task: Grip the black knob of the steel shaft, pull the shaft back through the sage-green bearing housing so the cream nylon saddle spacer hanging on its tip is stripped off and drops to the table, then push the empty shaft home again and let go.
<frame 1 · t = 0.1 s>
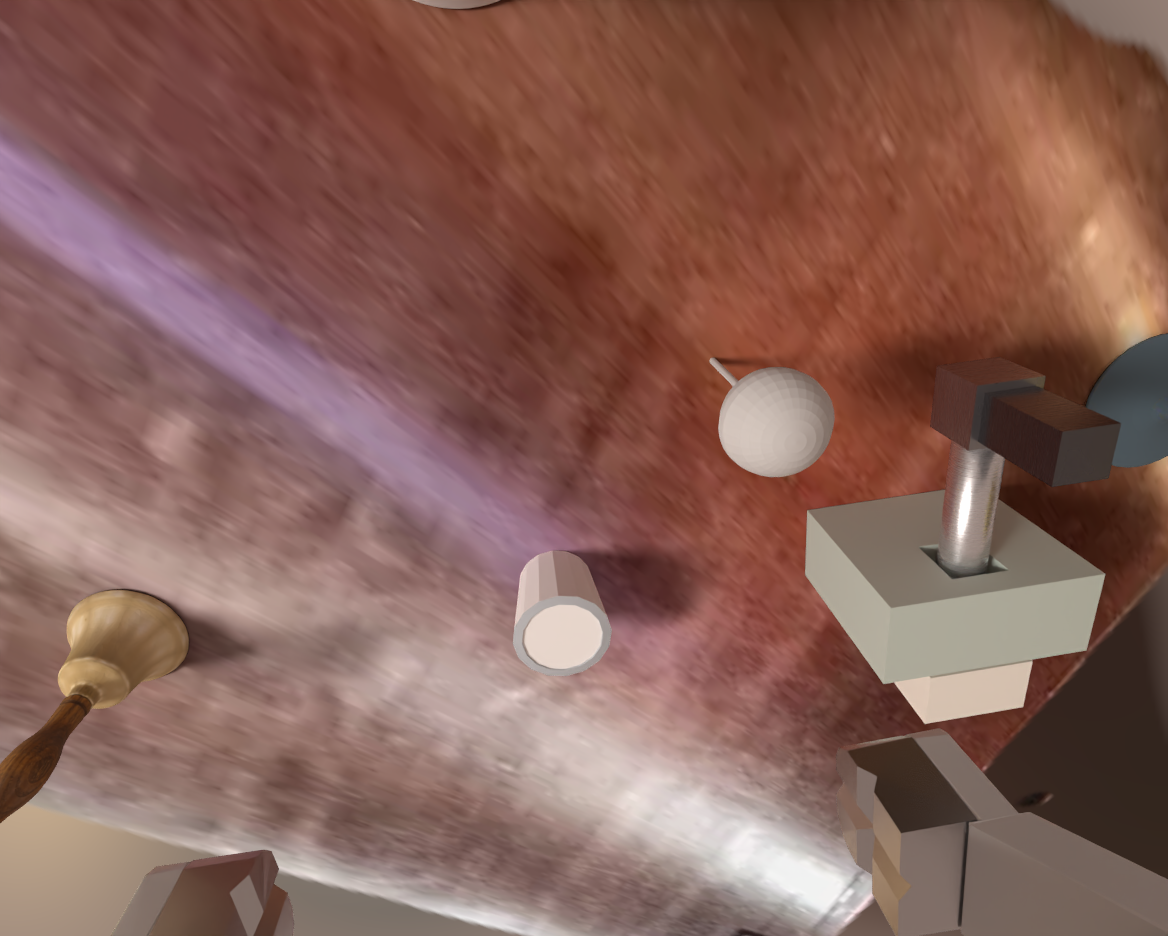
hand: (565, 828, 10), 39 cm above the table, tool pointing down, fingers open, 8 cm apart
cocktail glass: (1147, 401, 54), on the table
hand bell: (131, 633, 52), on the table
lollipop: (712, 360, 48), on the table
shot glass: (555, 580, 55), on the table
spacer: (943, 654, 50), point 8 cm above the table, touching shaft
shaft: (991, 576, 43), point 12 cm above the table, slide at 0.0 cm, touching spacer
bearing: (890, 530, 56), on the table
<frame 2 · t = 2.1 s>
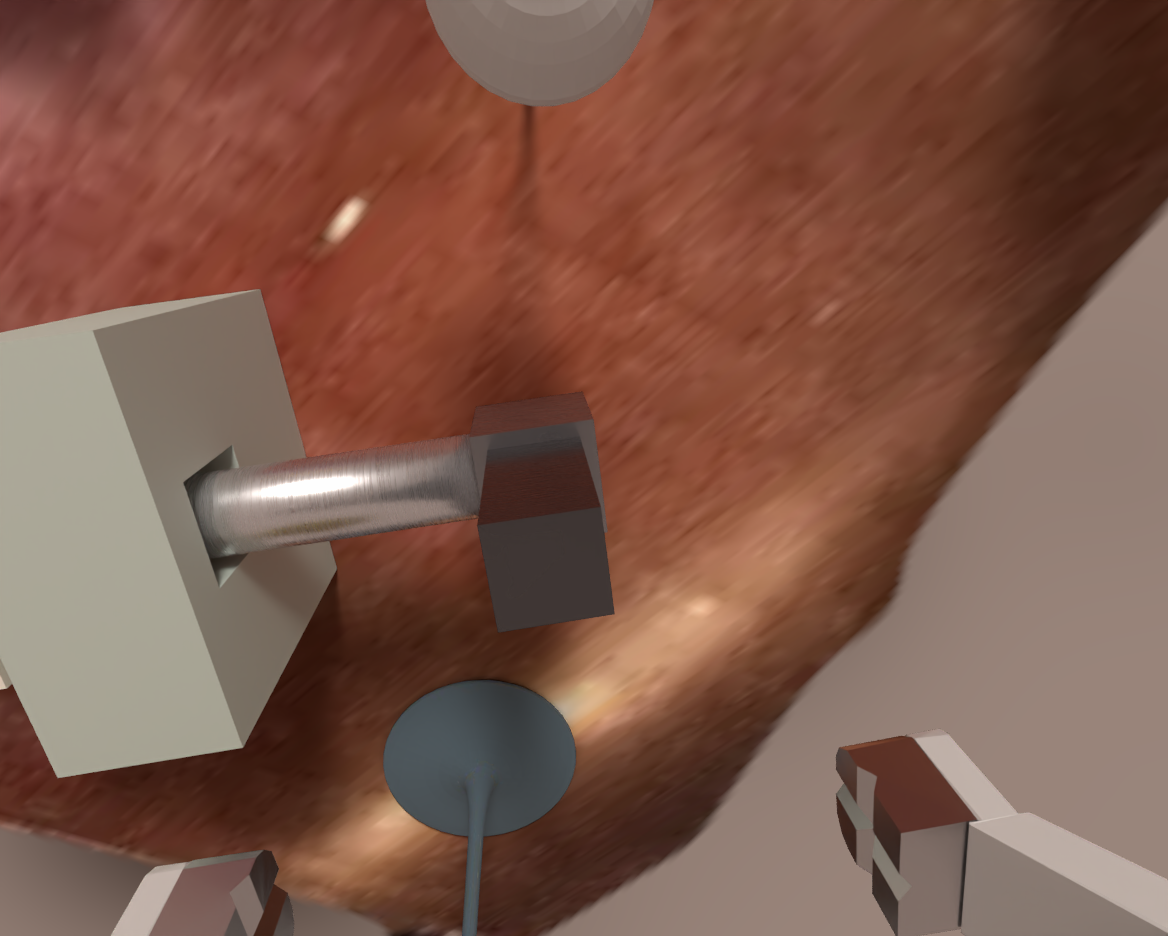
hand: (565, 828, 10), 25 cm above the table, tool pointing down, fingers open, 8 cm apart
cocktail glass: (481, 756, 40), on the table
lollipop: (530, 70, 29), on the table
shaft: (204, 548, 22), point 12 cm above the table, slide at 0.0 cm, touching spacer
bearing: (236, 448, 33), on the table
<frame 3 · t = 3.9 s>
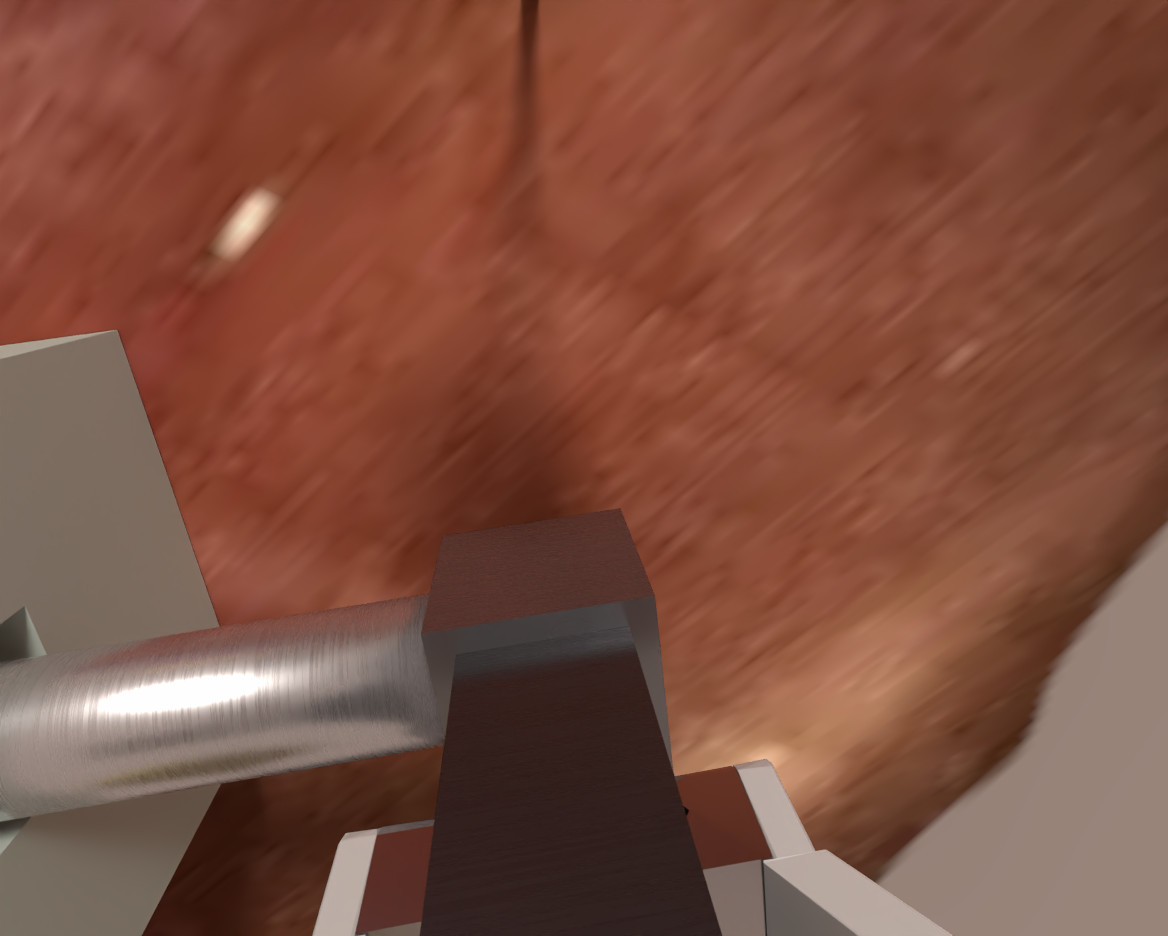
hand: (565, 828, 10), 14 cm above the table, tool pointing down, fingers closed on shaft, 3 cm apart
bearing: (95, 561, 22), on the table
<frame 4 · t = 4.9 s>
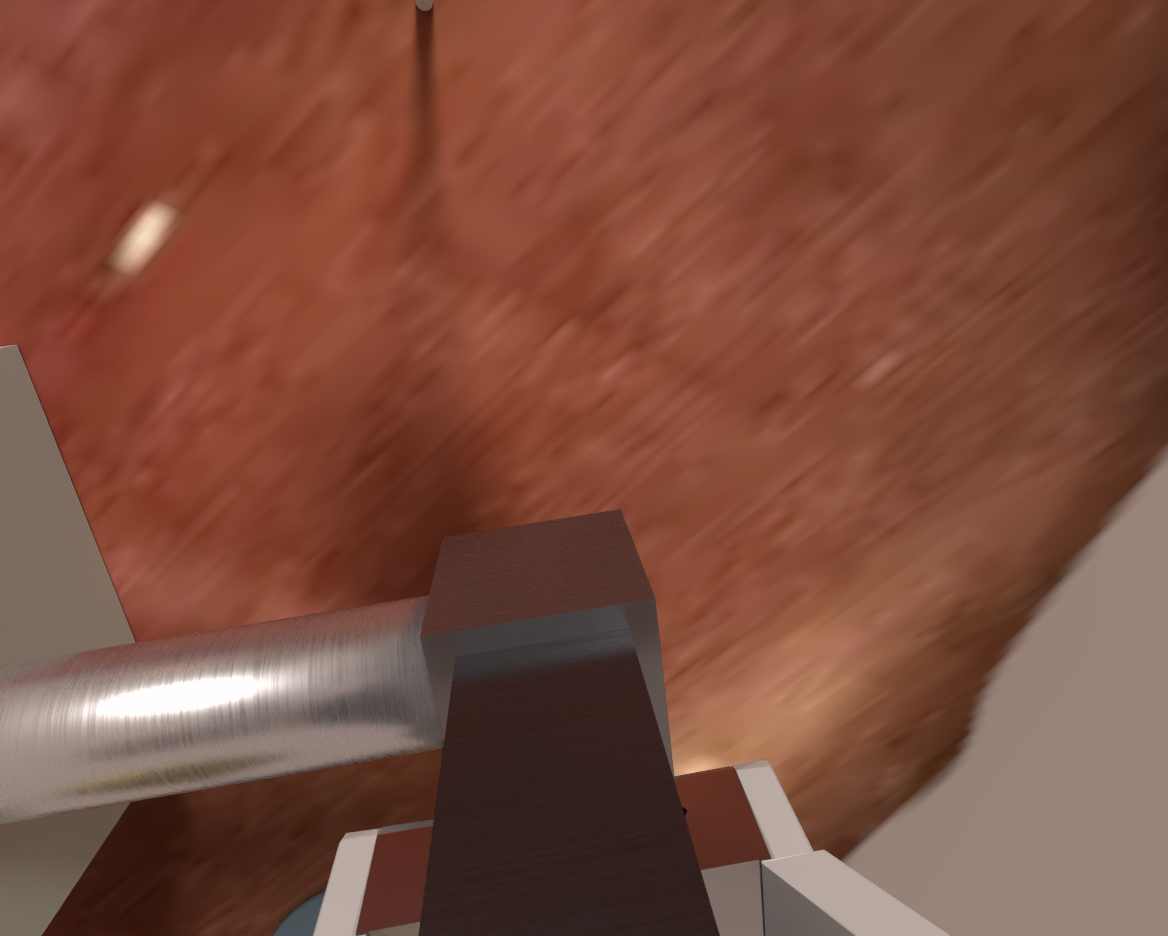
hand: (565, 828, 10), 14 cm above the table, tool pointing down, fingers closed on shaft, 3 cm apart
lollipop: (425, 3, 18), on the table
bearing: (5, 576, 22), on the table
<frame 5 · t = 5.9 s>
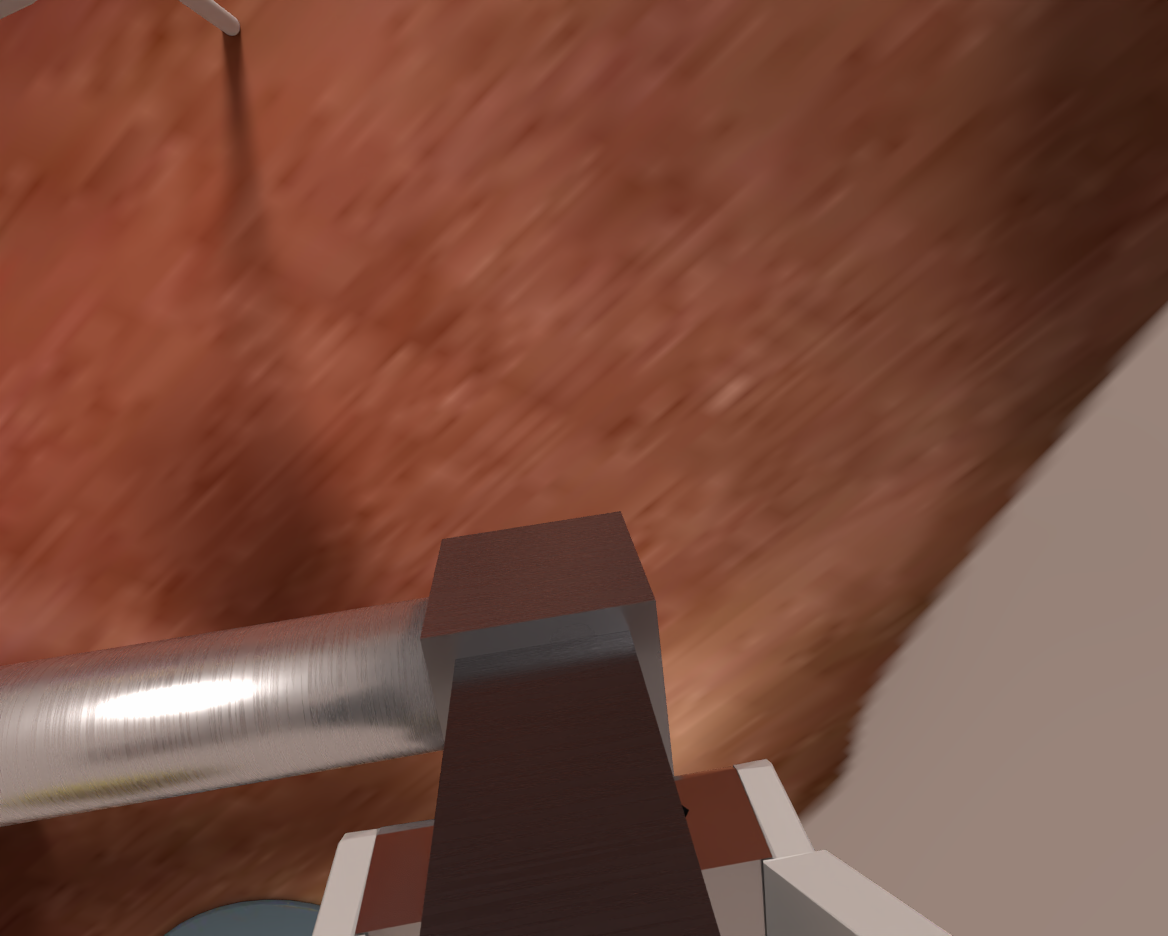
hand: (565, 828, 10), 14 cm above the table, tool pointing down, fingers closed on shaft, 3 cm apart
lollipop: (233, 27, 18), on the table
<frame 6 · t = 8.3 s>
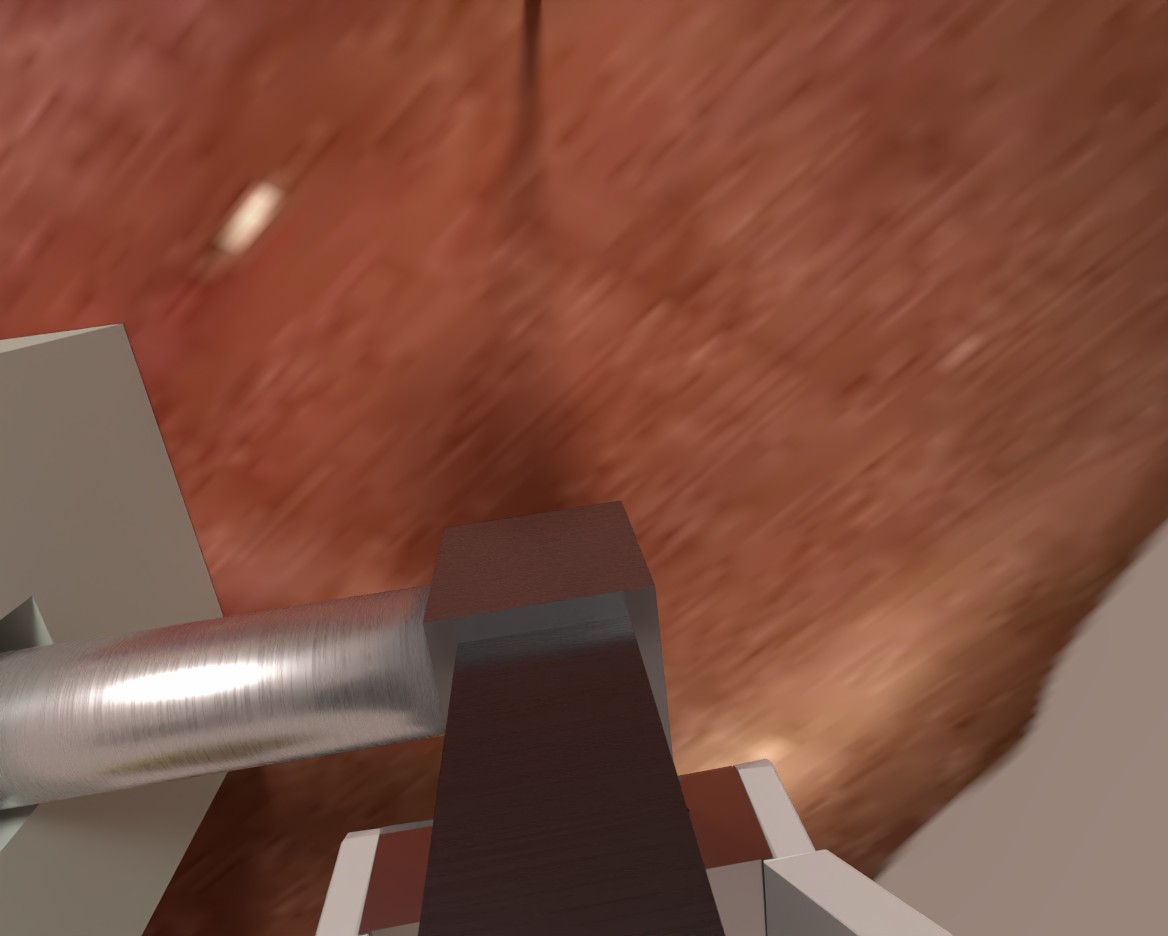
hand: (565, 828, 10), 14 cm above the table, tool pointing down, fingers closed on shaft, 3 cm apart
bearing: (101, 554, 22), on the table
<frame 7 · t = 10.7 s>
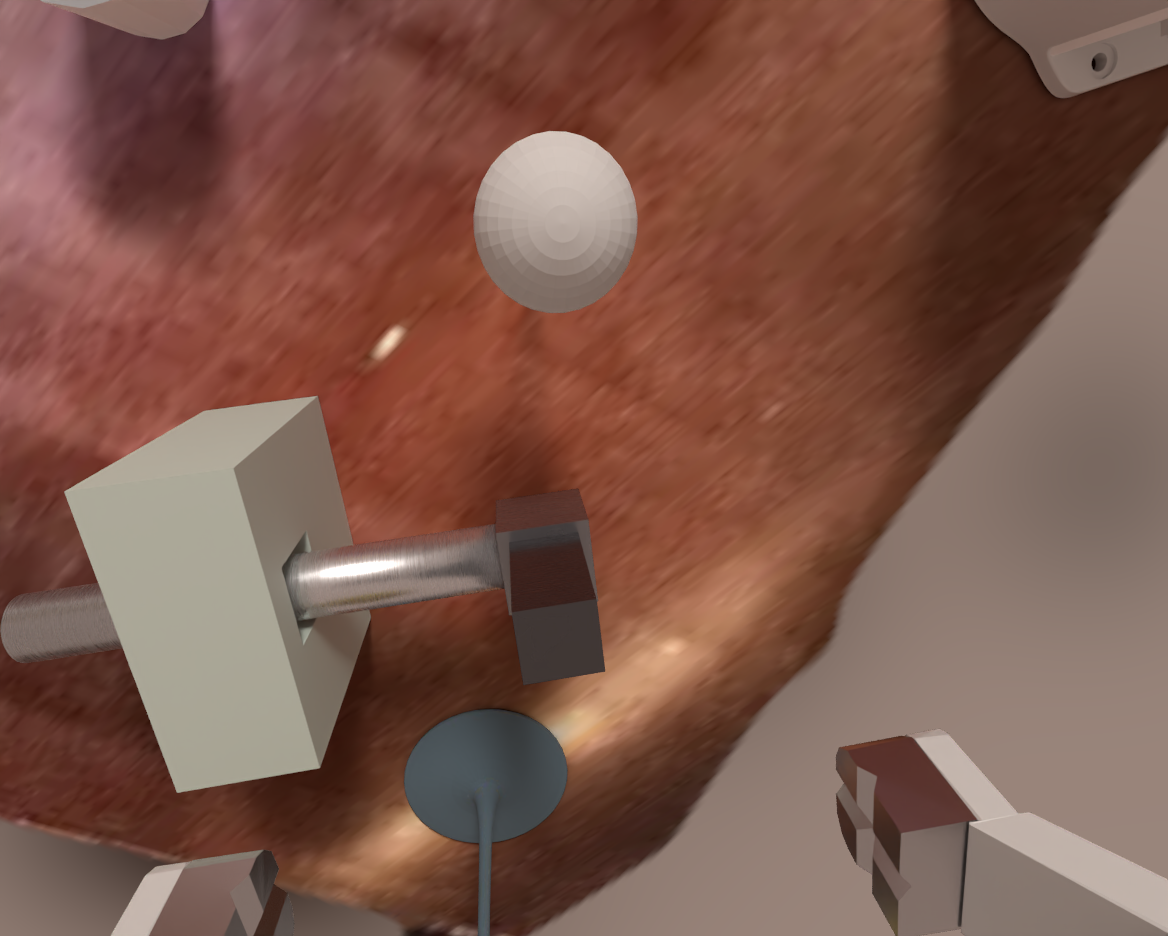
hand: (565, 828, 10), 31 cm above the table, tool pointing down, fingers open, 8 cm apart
cocktail glass: (486, 773, 47), on the table
lollipop: (537, 230, 37), on the table
shaft: (297, 617, 29), point 12 cm above the table, slide at 0.0 cm
bearing: (292, 520, 40), on the table
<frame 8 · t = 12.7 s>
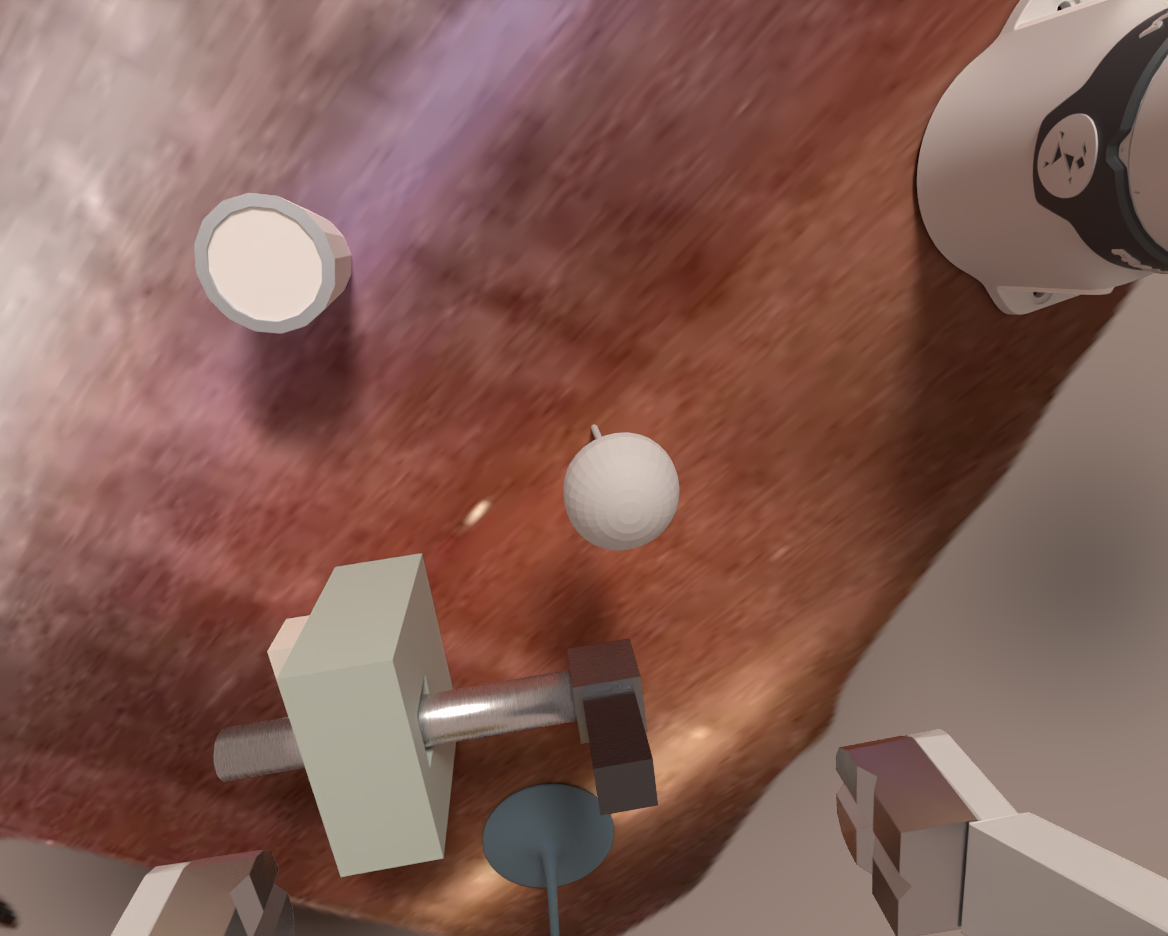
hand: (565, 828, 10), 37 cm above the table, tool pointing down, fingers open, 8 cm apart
cocktail glass: (548, 833, 58), on the table
lollipop: (594, 427, 47), on the table
shot glass: (304, 259, 42), on the table
spacer: (326, 656, 50), on the table
shaft: (429, 753, 40), point 12 cm above the table, slide at 0.0 cm
bearing: (400, 644, 51), on the table
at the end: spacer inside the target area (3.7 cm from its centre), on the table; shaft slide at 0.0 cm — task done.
